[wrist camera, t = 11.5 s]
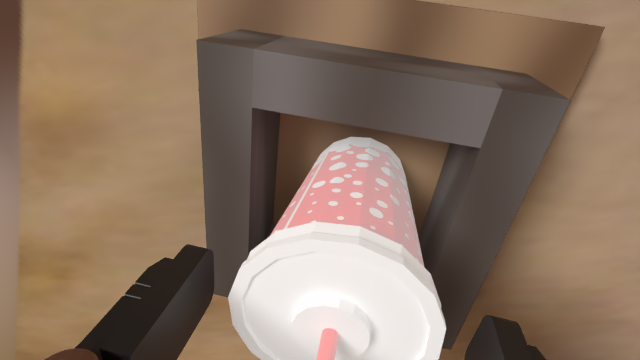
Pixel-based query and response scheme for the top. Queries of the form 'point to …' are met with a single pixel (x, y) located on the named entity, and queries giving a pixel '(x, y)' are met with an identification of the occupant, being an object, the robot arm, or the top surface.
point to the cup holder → (382, 117)
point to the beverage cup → (342, 268)
